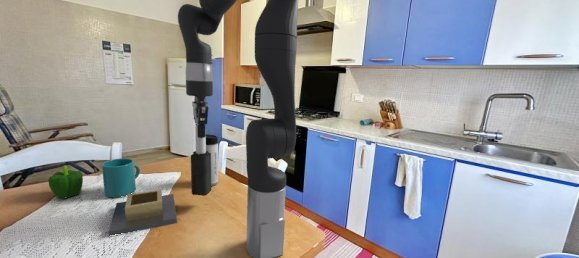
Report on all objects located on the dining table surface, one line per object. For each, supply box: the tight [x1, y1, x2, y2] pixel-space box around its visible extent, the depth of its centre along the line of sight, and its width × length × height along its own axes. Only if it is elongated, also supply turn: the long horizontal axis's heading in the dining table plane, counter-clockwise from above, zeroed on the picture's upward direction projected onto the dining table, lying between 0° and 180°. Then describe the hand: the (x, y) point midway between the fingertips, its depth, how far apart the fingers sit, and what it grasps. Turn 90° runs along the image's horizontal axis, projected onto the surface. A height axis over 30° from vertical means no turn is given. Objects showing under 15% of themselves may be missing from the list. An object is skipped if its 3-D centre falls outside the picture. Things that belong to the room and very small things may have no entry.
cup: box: [101, 157, 141, 198], centre depth 86 cm, size 9×12×11 cm
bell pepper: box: [48, 164, 84, 199], centre depth 81 cm, size 8×8×10 cm
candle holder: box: [107, 188, 178, 237], centre depth 73 cm, size 16×16×6 cm
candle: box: [190, 119, 212, 197], centre depth 76 cm, size 5×5×25 cm
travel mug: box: [206, 134, 219, 187], centre depth 95 cm, size 6×7×20 cm
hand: (200, 135), depth 75 cm, fingers closed on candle, 3 cm apart
